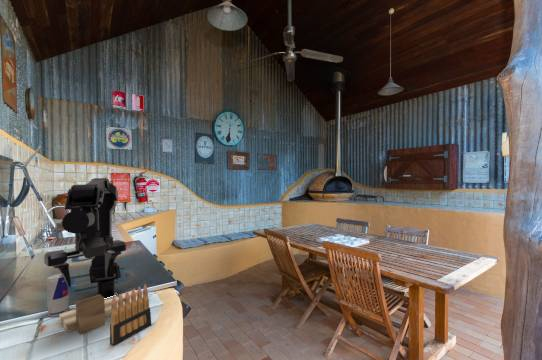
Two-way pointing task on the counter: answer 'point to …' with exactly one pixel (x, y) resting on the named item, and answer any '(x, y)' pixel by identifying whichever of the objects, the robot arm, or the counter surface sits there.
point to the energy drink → (57, 295)
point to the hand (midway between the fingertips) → (89, 281)
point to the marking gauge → (90, 314)
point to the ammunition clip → (129, 316)
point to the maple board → (70, 317)
